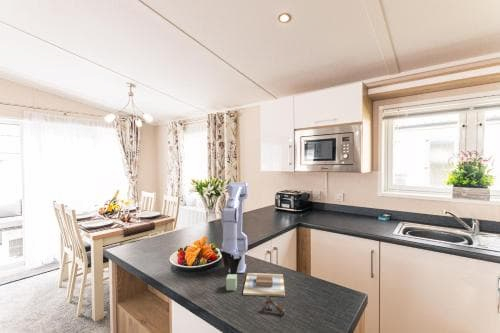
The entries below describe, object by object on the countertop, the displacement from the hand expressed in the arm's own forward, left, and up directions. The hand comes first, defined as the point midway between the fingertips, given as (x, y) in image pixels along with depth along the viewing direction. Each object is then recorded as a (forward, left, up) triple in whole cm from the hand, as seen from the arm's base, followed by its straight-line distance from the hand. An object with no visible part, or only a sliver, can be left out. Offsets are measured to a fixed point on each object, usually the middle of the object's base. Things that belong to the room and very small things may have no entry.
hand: (230, 269), depth 99 cm
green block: (-4, 0, -10) cm, 10 cm away
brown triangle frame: (+11, +18, -10) cm, 23 cm away
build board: (-8, +14, -10) cm, 19 cm away
